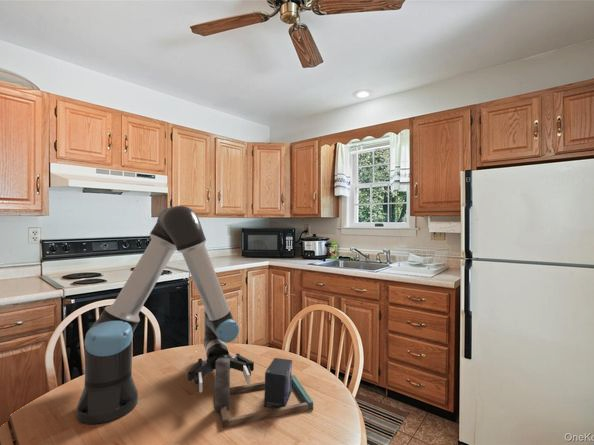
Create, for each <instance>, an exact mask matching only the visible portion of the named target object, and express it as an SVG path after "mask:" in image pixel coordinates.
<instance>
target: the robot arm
mask: <svg viewBox="0 0 594 445" xmlns="http://www.w3.org/2000/svg"><path fill="white" fill-rule="evenodd" d="M149 237H150V241H149V243H148V245H147V247H146V248H145V250H144V252H143V253H142V255H141V257H140V258H139V259H138V262H137V263H136V265H135V266H134V268H133V270H132V271H131V274H130V275H129V277H128V279H127V280H126V281H125V283H124V285H123V287H122V288H121V290H120V292H119V293H118V295H117V297H116V298H115V300H114V302H112V304H110V305H107V306H105V307H104V309H103V310H102V312H101V314H100V315H99V317H98V318H97V319H96V320H95V322H94V323H93V324H92V325H91V327H90V328H89V329H88V330H87V332H86V334H85V338H84V350H85V351H84V387H83V389H82V392H81V395H80V398H79V401H78V403H77V405H76V414H75V415H76V416H75V417H76V419H77V421H78V422H80V423H82V424H86V425H95V424H103V423H108V422H111V421H114V420H117V419H119V418H121V417H123V416H125V415H126V414H129V413H130V412H131V411H132V410H133V409H135V407H136V406H137V404H138V401H139V393H138V392H139V391H138V389H137V386H136V384H135V381H134V379H133V377H132V376H133V375H132V369H133V363H132V362H133V338H134V331H136V330H135V329H136V328H137V327H138V325H139V322H140V321H141V319H140V315H139V313H140V312H141V310H142V308H143V307H144V305H145V303H146V301H147V300H148V298H149V296H150V295H151V293H152V291H153V289H154V288H155V286H156V284H157V282H158V280H159V279H160V277H161V275H162V273H163V272H164V269H165V268H166V266H167V265H168V263H169V261H170V259H171V257H173V255H174V252H176V251H177V252H179V253H181V254H182V256H183V258H184V262H185V264H186V266H187V269H188V270H189V274H190V276H191V279H192V281H193V283H194V285H195V288H196V291H197V293H198V295H199V298H200V300H201V303H202V305H203V307H204V312H203V313H204V337H203V347H204V350H205V356H206V360H203V358H198V359H197V361H196V363H195V364H194V365H193V366H192V367H191V368H190V370H188V372H187V381H190V382H191V381H193V383H194V385H196V386H197V385H198V390H199V391H198V392H199V393H202V392H203V377H204V376H206V375H208V373H212V372H213V371H215V370H216V360H217V359H219V358H229V359H230V370H231V369H232V370H236V371H238V372H242V374H243V377H244V380H245V382H246V385H248V384H251V375H252V372H253V371H255V364H254V363H255V362H254V361H252V360H250V359H248V358H246V357H244V356H242V355H241V354H240V353H235V355H234V356H232V355H230V353H229V349H228V346H227V344H226V343H230V342H233V341H234V340H236V339H237V338H238V336H239V333H240V327H239V324H238V323H237V321H236V320H235V319H234V317H233V314H232V312H231V310H230V307H229V304H228V302H227V299H226V297H225V294H224V291H223V289H222V287H221V283H220V280H219V279H218V276H217V273H216V271H215V268H214V265H213V262H212V260H211V258H210V255H209V252H208V249H207V247H206V241H207V238H206V235H205V233H204V230H203V227H202V224H201V222H200V219H199V216H198V215H197V213H196V212H195V211H194V210H193V209H192V208H190V207H187V206H186V205H185V206H184V205H176V206H170V207H167V208H165V209H164V210H162V212H160V213H159V215H158V217H157V219H156V223H155V224H154V226H153V227H152V229H151V231H150V233H149Z"/></svg>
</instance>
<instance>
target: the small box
mask: <svg viewBox="0 0 594 445" xmlns="http://www.w3.org/2000/svg"><path fill="white" fill-rule="evenodd" d="M292 375H293V359H288V358H280V357H279V358H278V357H274V358H273V360H272V361H271V362H270V364H269V366H268V367H267V369H266V370H265V372H264V382H265V388H264V394H263V395H264V399H263V400H264V401H263V402H264V403H263V407H264V408H268V409H276V408H280V407H285V406H287V403H288V401H289V398H290V396H291V393H292V391H293V389H292V387H293V385H292Z"/></svg>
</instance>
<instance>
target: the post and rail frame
mask: <svg viewBox="0 0 594 445" xmlns="http://www.w3.org/2000/svg"><path fill="white" fill-rule="evenodd" d="M230 374H231V369H230V359H229V358H219V359H217V360H216V369H215V386H214V387H215V388H214V389H215V391H214V394H215V396H214V398H215V399H214V401H215V402H214V411H215V413H216V414H220V418H221V425H222V428H223V429H224V428H229V427H233V426H237V425H241V424H247V423H251V422H256V421H261V420H265V419H270V418H275V417H280V416H285V415H290V414H294V413H298V412H305V411H309V410H313V409H314V401H313V399H312V398H311V396H310V394H308V392H307V391H306V390H305V387H303V385H302V384H301V382H300V381H299V379H298V377H296V375H295V374H292V387H293V388H294V390H295V392H296V393H297V395H298V396H299V397H300V399H301V400H302V402H301V403H300V402H299V403H295V404H291V405H286V406H285V407H280V408H276V409H274V408H270V409H267V410H261V411H256V412H253V413H248V414H242V415H237V416H233V417H229V414H228V412H229V410H230V395H234V394H235V395H236V394H240V393H245V392H250V391H251V392H252V391H256V390H262V389H265V381H261V382H255V383H250V384H243V385H237V386H230V385H231V383H230V382H231V376H230Z"/></svg>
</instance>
